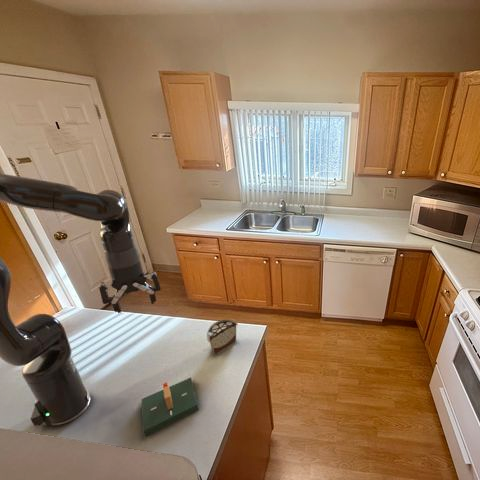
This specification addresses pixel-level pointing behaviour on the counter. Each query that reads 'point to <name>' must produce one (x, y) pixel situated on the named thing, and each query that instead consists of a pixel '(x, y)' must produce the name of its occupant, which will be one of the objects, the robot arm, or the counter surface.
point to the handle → (167, 396)
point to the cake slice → (222, 335)
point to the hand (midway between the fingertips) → (136, 306)
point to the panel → (156, 407)
